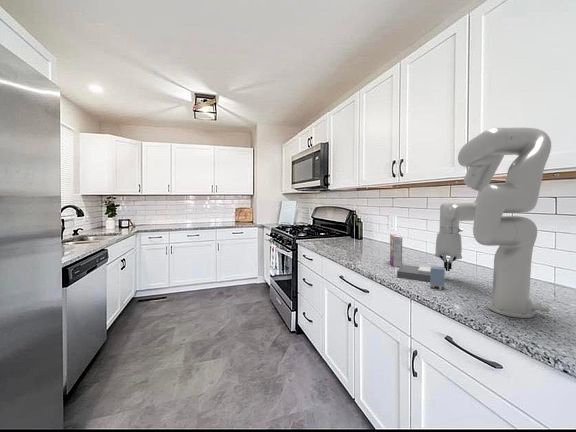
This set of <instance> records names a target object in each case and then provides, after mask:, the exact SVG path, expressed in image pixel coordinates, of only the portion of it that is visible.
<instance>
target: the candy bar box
mask: <svg viewBox="0 0 576 432" xmlns="http://www.w3.org/2000/svg"><path fill="white" fill-rule="evenodd" d="M389 262H390V265H391V266H392V267H394V268H400V267H401V265H403V237H402V236H401V235H399V234H393V233H392V234H390V235H389Z"/></svg>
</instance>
